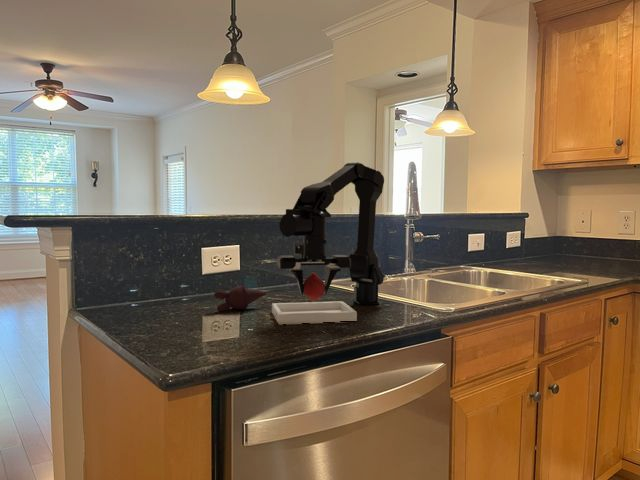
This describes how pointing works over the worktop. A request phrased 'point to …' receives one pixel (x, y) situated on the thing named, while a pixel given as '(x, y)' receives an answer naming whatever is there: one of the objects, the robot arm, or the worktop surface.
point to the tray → (312, 312)
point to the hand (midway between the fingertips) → (313, 294)
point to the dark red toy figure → (237, 298)
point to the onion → (313, 287)
